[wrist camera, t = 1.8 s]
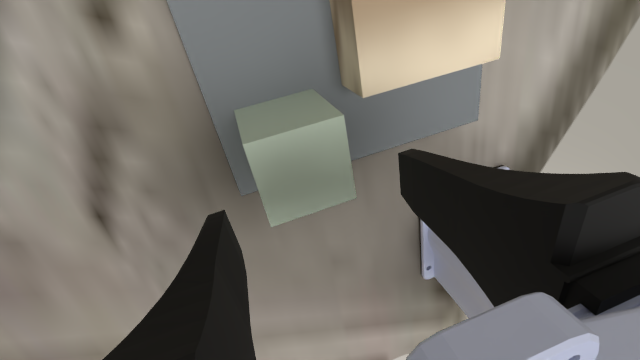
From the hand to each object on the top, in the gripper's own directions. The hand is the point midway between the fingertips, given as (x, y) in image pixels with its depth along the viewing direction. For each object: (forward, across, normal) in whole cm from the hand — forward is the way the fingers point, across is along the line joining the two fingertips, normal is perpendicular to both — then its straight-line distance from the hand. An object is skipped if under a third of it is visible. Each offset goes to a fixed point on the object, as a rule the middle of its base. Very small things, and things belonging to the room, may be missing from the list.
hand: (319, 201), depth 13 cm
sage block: (+7, 0, 0) cm, 7 cm away
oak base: (+7, -8, -6) cm, 12 cm away
